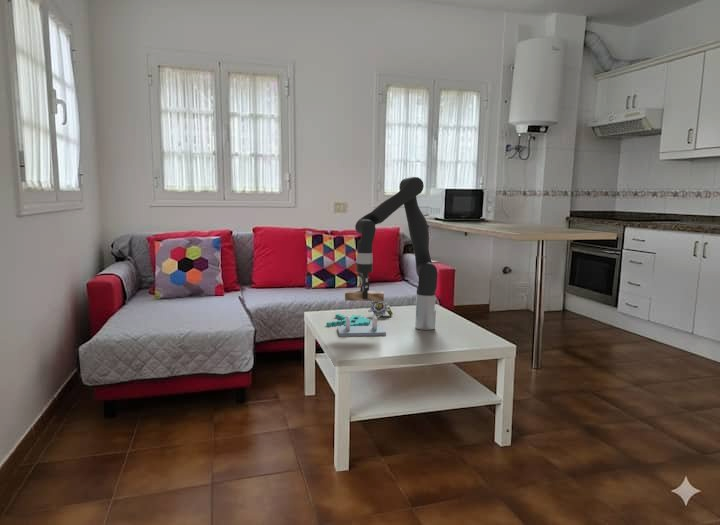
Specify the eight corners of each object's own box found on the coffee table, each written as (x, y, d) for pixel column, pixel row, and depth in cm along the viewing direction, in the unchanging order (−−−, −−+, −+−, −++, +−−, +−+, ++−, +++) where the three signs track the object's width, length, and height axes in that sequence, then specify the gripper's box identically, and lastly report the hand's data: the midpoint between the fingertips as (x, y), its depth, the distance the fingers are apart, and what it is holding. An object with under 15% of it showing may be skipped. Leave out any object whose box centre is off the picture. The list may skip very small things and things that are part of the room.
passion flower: (378, 327, 263) (366, 310, 260) (378, 319, 273) (366, 302, 270) (396, 317, 261) (383, 300, 258) (395, 309, 271) (383, 292, 268)
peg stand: (381, 328, 241) (381, 313, 240) (386, 335, 229) (386, 319, 228) (337, 329, 238) (337, 314, 237) (339, 336, 226) (339, 320, 225)
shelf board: (382, 298, 232) (382, 291, 232) (383, 301, 226) (383, 293, 226) (345, 297, 232) (345, 290, 231) (345, 300, 226) (345, 293, 225)
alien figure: (326, 327, 243) (365, 330, 239) (326, 322, 243) (365, 325, 239) (336, 317, 262) (372, 320, 258) (336, 313, 262) (372, 316, 258)
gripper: (375, 264, 220) (374, 300, 223) (369, 260, 234) (368, 294, 237) (359, 264, 219) (358, 300, 221) (354, 260, 233) (353, 294, 235)
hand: (363, 297), depth 229 cm, fingers closed on shelf board, 6 cm apart
